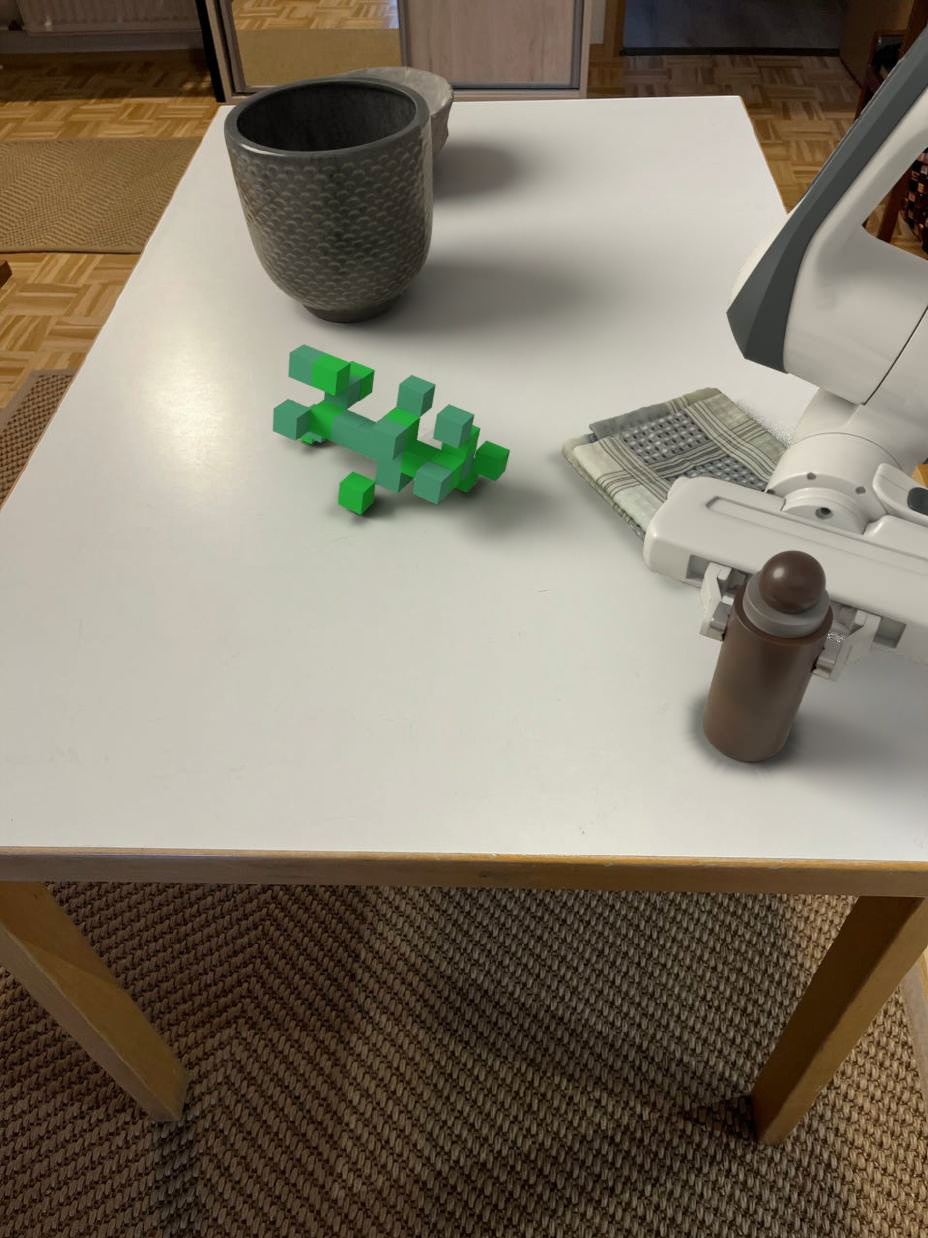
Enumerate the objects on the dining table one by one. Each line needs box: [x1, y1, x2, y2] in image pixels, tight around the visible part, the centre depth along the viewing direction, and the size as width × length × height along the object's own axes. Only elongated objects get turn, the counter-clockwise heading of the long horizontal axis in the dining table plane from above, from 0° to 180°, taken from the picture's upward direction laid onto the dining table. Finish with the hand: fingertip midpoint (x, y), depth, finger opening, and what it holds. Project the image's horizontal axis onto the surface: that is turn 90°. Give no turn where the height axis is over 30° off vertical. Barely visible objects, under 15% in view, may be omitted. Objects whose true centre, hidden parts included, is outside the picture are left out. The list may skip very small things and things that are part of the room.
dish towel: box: [560, 387, 788, 541], centre depth 78 cm, size 19×18×3 cm
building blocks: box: [272, 343, 511, 515], centre depth 78 cm, size 20×12×13 cm, turn 79°
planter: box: [223, 75, 434, 323], centre depth 95 cm, size 20×20×19 cm
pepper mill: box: [701, 550, 833, 762], centre depth 57 cm, size 6×6×16 cm
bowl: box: [329, 66, 455, 160], centre depth 118 cm, size 21×21×10 cm
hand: (768, 651), depth 55 cm, fingers closed on pepper mill, 5 cm apart
